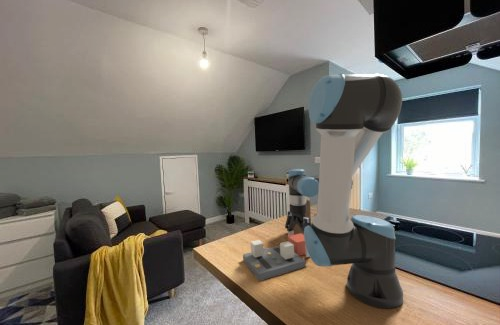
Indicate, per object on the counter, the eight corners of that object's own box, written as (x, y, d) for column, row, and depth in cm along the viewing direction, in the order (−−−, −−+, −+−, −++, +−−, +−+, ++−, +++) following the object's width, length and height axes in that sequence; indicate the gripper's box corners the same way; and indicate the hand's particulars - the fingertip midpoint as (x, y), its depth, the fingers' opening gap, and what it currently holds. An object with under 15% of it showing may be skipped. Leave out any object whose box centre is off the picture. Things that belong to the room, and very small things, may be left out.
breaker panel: (305, 266, 81) (305, 259, 81) (259, 281, 73) (258, 273, 73) (283, 249, 96) (283, 243, 96) (243, 260, 88) (242, 253, 88)
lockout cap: (311, 252, 92) (311, 239, 92) (297, 256, 89) (297, 242, 89) (301, 245, 99) (301, 233, 99) (287, 249, 96) (287, 236, 96)
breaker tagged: (263, 255, 85) (263, 243, 85) (255, 257, 84) (254, 245, 83) (259, 251, 89) (259, 239, 89) (251, 253, 87) (250, 241, 87)
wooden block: (311, 238, 107) (310, 200, 106) (291, 237, 109) (290, 200, 108) (310, 231, 117) (308, 195, 116) (291, 230, 119) (290, 196, 118)
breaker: (294, 257, 82) (293, 244, 82) (285, 259, 81) (285, 247, 81) (288, 252, 86) (288, 241, 86) (280, 255, 85) (279, 243, 84)
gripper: (323, 208, 84) (325, 260, 85) (289, 197, 106) (291, 238, 107) (308, 211, 81) (310, 265, 82) (276, 199, 103) (278, 241, 104)
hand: (299, 250), depth 94 cm, fingers open, 12 cm apart
